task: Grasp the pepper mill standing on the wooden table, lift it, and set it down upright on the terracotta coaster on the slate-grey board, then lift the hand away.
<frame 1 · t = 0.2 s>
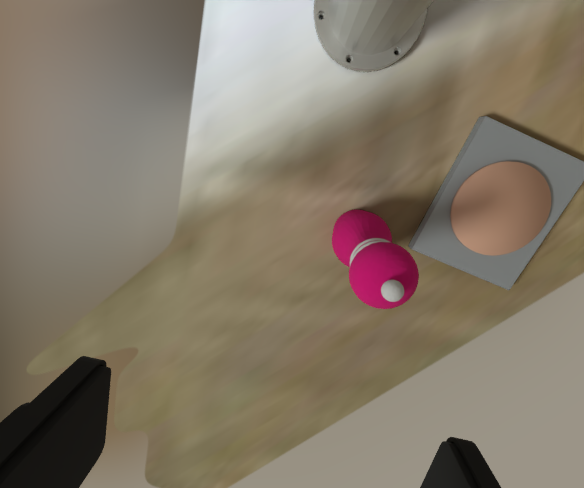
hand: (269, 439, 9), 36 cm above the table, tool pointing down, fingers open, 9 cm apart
slate board: (491, 207, 42), on the table
pepper mill: (355, 231, 44), on the table
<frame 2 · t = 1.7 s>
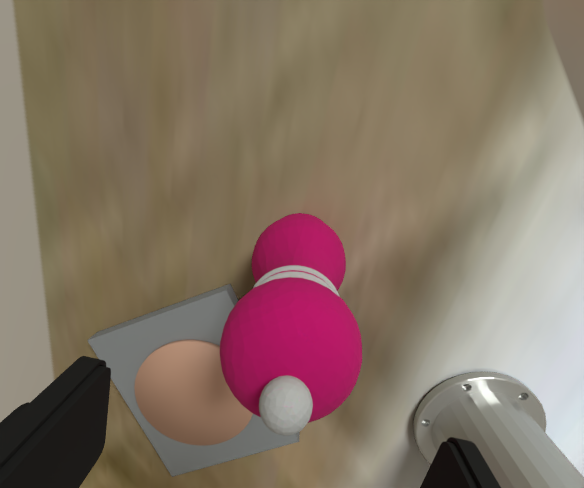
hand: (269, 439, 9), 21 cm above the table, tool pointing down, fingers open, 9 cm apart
slate board: (201, 382, 33), on the table
pepper mill: (300, 246, 29), on the table
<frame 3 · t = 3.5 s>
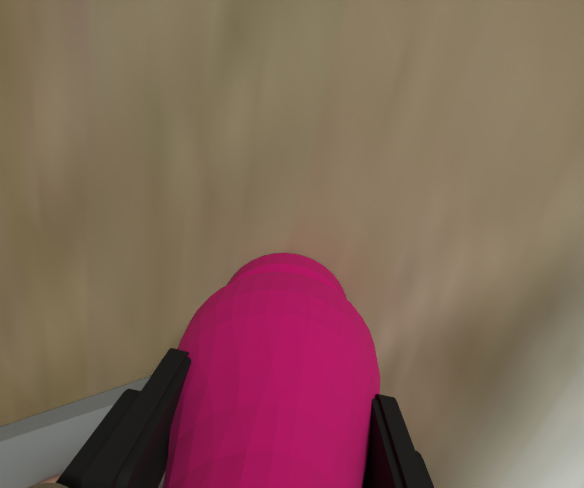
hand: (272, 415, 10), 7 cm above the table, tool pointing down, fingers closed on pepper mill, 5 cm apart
pepper mill: (284, 309, 16), on the table, touching gripper
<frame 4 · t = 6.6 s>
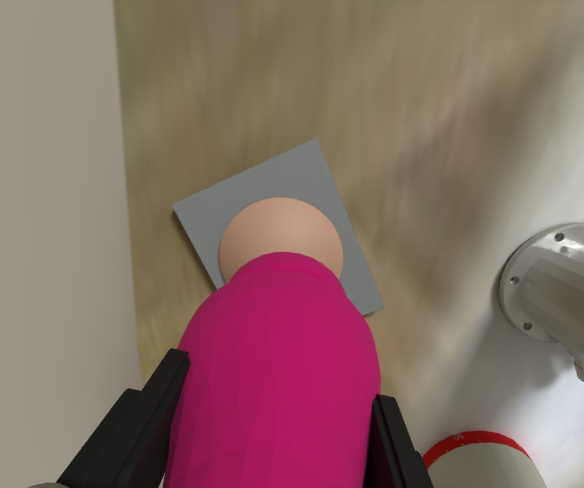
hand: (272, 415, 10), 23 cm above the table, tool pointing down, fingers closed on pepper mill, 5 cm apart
kitchen timer: (471, 472, 40), on the table
slate board: (282, 253, 33), on the table
pepper mill: (285, 308, 16), point 17 cm above the table, touching gripper
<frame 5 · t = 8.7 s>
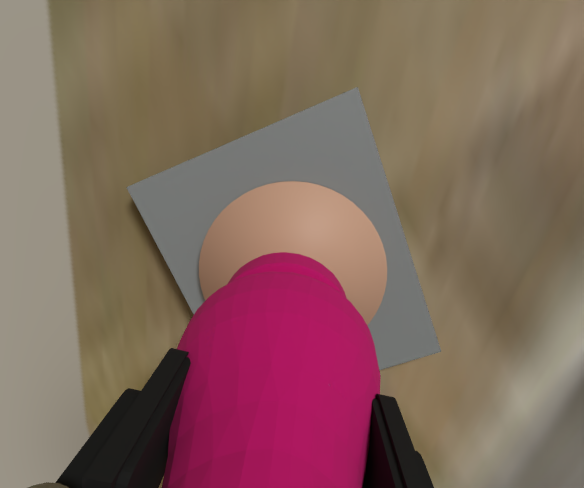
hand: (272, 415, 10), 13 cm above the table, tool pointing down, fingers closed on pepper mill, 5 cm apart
slate board: (293, 265, 22), on the table
pepper mill: (284, 308, 16), point 7 cm above the table, touching gripper
when the fingers open (10 cm above the table, at t = 9.8 s): pepper mill drops 1 cm, resting on slate board.
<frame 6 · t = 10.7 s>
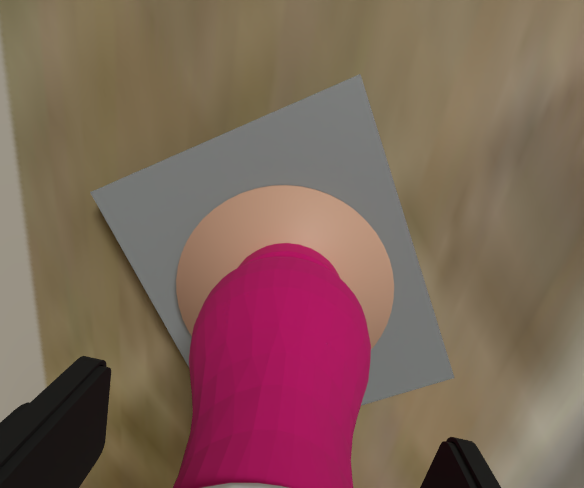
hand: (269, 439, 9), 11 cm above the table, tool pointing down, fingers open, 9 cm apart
slate board: (285, 281, 20), on the table
pepper mill: (286, 295, 18), point 2 cm above the table, touching slate board
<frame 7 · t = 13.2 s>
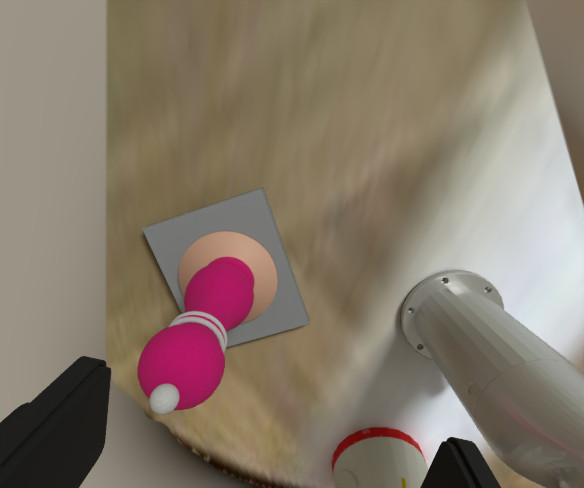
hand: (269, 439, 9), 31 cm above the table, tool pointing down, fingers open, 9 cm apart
kitchen timer: (376, 461, 49), on the table
slate board: (231, 273, 41), on the table
pepper mill: (229, 279, 39), point 2 cm above the table, touching slate board
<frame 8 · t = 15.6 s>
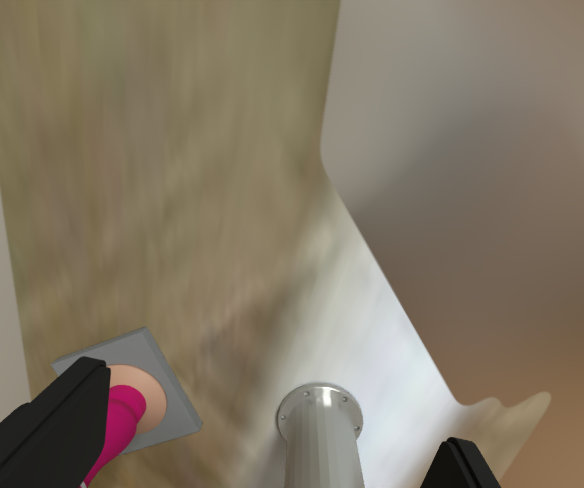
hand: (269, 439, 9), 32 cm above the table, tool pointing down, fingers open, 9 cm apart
slate board: (132, 391, 48), on the table
pepper mill: (126, 401, 46), point 2 cm above the table, touching slate board
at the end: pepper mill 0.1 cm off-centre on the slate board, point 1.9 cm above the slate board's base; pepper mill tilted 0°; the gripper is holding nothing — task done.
